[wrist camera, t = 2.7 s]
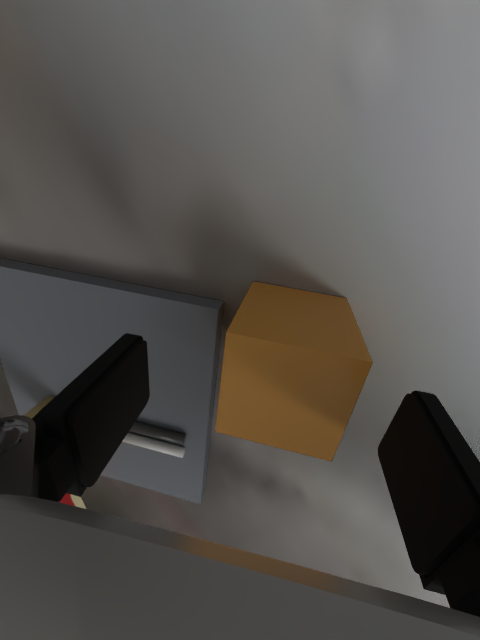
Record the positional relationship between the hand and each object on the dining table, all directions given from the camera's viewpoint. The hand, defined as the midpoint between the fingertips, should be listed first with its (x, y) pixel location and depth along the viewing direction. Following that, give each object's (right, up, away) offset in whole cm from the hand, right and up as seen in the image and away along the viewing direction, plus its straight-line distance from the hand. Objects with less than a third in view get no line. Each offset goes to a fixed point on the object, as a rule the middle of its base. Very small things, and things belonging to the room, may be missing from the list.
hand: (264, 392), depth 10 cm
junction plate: (-11, -3, +11) cm, 16 cm away
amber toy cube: (+2, +2, +6) cm, 6 cm away
